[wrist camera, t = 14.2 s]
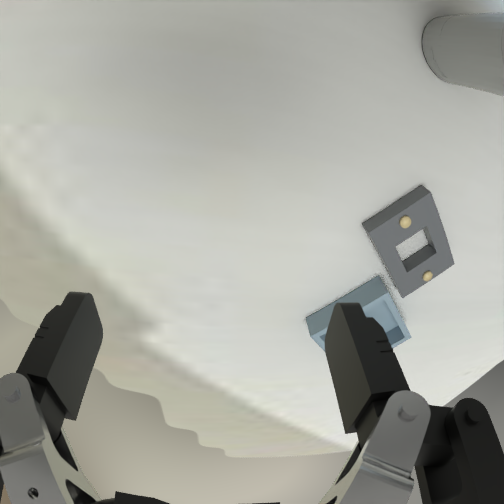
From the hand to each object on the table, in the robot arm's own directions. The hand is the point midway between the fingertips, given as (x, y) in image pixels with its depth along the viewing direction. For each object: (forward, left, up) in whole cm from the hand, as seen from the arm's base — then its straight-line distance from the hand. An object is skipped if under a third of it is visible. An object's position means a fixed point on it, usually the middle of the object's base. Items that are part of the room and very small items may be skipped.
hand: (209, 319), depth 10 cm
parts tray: (+1, +35, -28) cm, 45 cm away
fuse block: (-12, +26, -28) cm, 40 cm away
